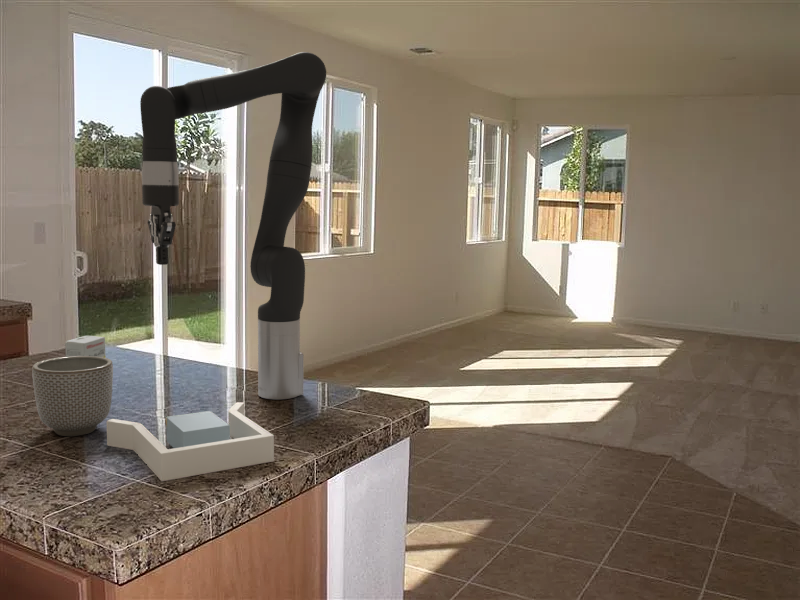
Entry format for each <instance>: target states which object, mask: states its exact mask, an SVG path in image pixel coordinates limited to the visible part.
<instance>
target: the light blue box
mask: <svg viewBox="0 0 800 600" xmlns="http://www.w3.org/2000/svg"><path fill="white" fill-rule="evenodd" d="M165 425H166V427H165V428H166V431H165V432H166V442H167V443H168V449H174V448H180V447H186V446H192V445H199V444H205V443H211V442H218V441H224V440H230V439H231V436H230V425H229V423H227V422H226V421H225V420H223V419H222V418H221V417H219V416H218V415H217V414H216V413H213V411H211V410H206V411H200V412H194V413H193V412H192V413H184V414H177V415H169V416H166V417H165Z"/></svg>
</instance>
